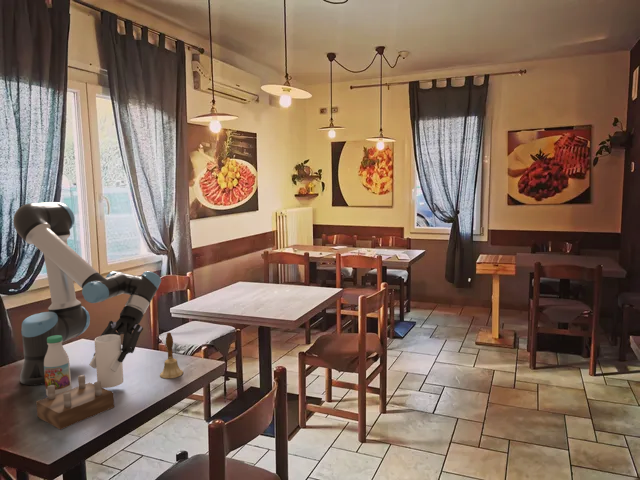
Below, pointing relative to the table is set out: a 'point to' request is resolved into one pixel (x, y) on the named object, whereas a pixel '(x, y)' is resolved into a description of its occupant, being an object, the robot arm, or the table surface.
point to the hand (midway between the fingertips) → (102, 368)
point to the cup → (108, 360)
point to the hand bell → (170, 362)
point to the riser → (74, 404)
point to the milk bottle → (57, 366)
